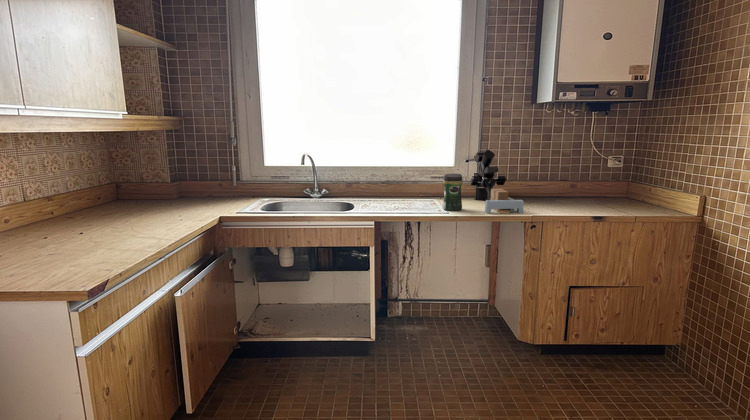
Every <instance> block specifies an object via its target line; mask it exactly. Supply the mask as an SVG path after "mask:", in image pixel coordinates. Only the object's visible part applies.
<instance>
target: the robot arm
mask: <svg viewBox="0 0 750 420" xmlns="http://www.w3.org/2000/svg"><path fill="white" fill-rule="evenodd" d="M495 155H496V154H495V153H494V152H493V151H491V149H486V150H485V151H477V152H476V153H475V155H473V156H474V158H475V161H476V162H478V163H479V166H480V167H479V171H480V173H474V176H471V177H470V181H469V182H470V186H473V189H474V190H475V198H474V200H476V201H486V200H489V195H490V194H491V188H493V187H494V186H495V185H497V186H505V183H506V181H507V176H506V175H497V177H495V174H497V173H498V172H499V166H497V165H495V166H491V165H492V163H493V161H494V160H495V157H496V156H495Z"/></svg>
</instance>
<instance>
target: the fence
mask: <svg viewBox="0 0 750 420" xmlns="http://www.w3.org/2000/svg"><path fill="white" fill-rule="evenodd" d="M524 204H525V202H524V200H522V199H514V198H512V197H510V196H508V200H490V199H487V200H485V209H484V213H485V214H492V210H494V209H508V210H510V213H515V210H516V212H517V213H518V214H524Z"/></svg>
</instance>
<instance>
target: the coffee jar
mask: <svg viewBox="0 0 750 420" xmlns="http://www.w3.org/2000/svg"><path fill="white" fill-rule="evenodd" d="M442 180H443V181H442V182H443V186H444V189H443V190H444V192H443V202H442V209H443V210H444V211H448V212H449V211H450V212H451V211H452V212H453V211H454V212H455V211H460V210H462V209H463V204H462V203H463V201H462V200H463V199H462V185H463V175H462V174H461V173H445V174H444V175H443V179H442Z"/></svg>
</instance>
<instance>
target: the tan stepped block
mask: <svg viewBox="0 0 750 420" xmlns="http://www.w3.org/2000/svg"><path fill="white" fill-rule="evenodd" d="M508 197H509V191H508V190H505V189H503V188H497V187H496V188H491V193H490V199H489V200H508ZM493 211H496V212H497V213H500V214H510V213H511V212H510V210H508V209H493Z"/></svg>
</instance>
